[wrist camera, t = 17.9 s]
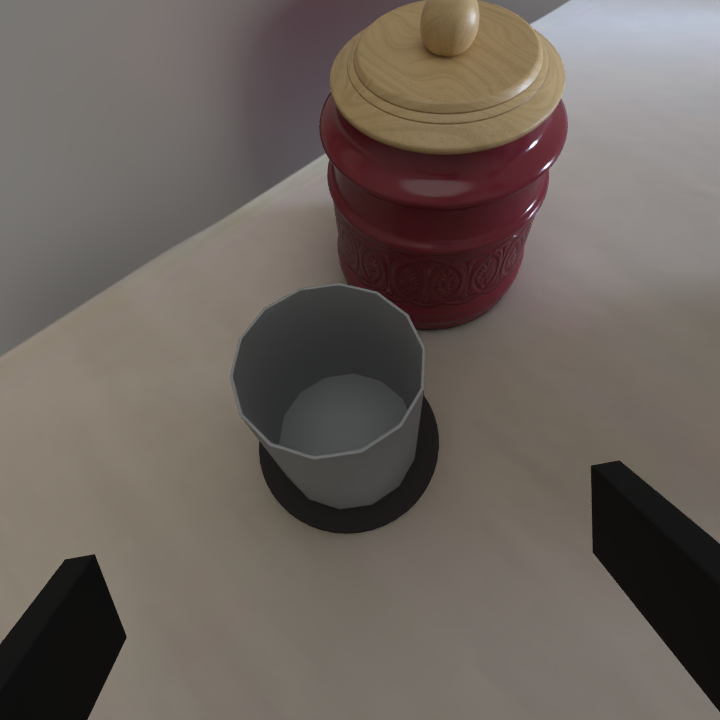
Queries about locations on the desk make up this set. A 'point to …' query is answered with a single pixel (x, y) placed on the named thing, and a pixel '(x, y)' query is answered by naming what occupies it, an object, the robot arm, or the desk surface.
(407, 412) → the cup
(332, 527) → the coaster
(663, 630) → the robot arm
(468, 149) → the kitchen canister
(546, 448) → the desk surface
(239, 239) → the desk surface
